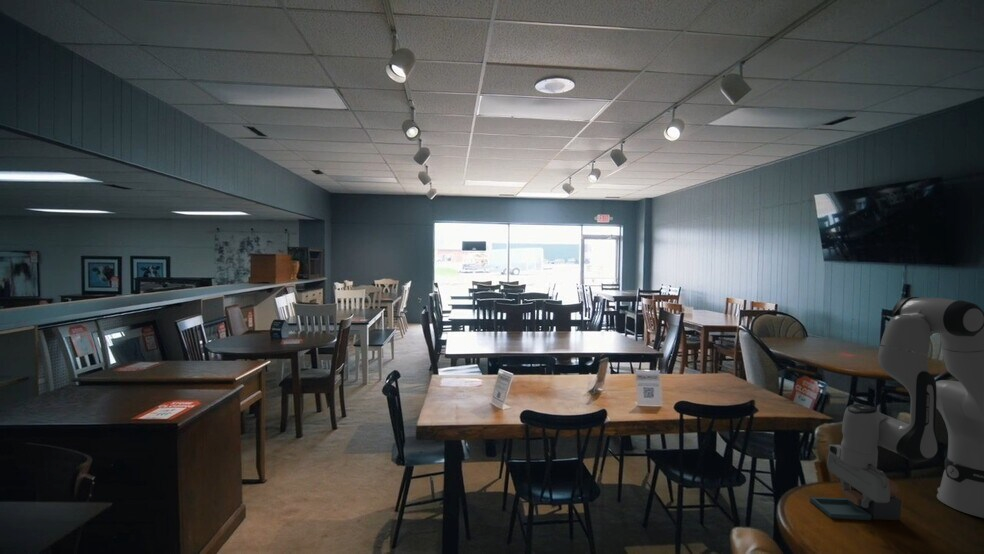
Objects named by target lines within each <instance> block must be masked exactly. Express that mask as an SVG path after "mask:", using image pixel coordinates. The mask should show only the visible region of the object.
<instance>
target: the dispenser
mask: <svg viewBox="0 0 984 554" xmlns="http://www.w3.org/2000/svg"><path fill="white" fill-rule="evenodd" d="M888 482H889V487H890V501H889V502H888V503H876V502H875V501H873V500H871V506H869V507H868V508H863V507H862V506H859V505H858V506H859V507H861V508H862V509H863V510H865V511H866V512H868V513H869V514H870V515H871V520H884V521H885V520H888V521H889V520H890V521H891V520H892V521H900V520H901V512H902V499H901V498H899V497H898V496H897V495H898V493H899V491H900V490H899V489H900V488H899V485H898V484H897V482H895V481H893V480H891V479H890V478H888ZM850 490H852V491H858V490H857V489H855V488H854V487H852V486H851V485H850ZM859 492H860V491H859Z"/></svg>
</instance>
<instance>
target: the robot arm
mask: <svg viewBox="0 0 984 554" xmlns="http://www.w3.org/2000/svg"><path fill="white" fill-rule="evenodd" d="M933 334H940V342H941V343H940V345H941V349H942V355H943V361H944V366H945V369H946V370H947V372H948V373H949V374H950V376H953V377H954V378H955V379H957V380H947V379H940V380H936V379H935V377H934V376H933V375H932V374H931V372H930V370H929V367H928V366H929V365H928V355H929V353H930V352H929V350H930V343H931V337H932V336H933ZM878 348H879V349H878V351H877V352H878V353H877V362H878V365H879V366H880V368H881V369H882V371H884V372H885V374H887V375H888V376H889V377H890V378H892V379H894V380H895V381H897V382H899V384H901V386H903V387H904V388H905V389H906V390H907V393H908V394H909V397H910V406H909V407H910V409H909V415H910V416H909V423H908V422H905V421H903V420H899V419H897V418H895V417H892V416H890V415H886V414H885V413H881V412H880V411H878V409H877V408H876V407H874V406H872V405H868V404H862V403H854V404H849V405H848V406H847V407H846V408H845V411H844V414H843V418H842V426H841V432H842V440H841V443H840V444H829V445H828V447H827V450H828V451H829V452H828V454H827V460H826V461H827V464H826V465H827V468H828V471H829V472H830V473H831V474H833V475H835V476H836V477H838V478H839V479H840V481H839V482H840V484H841V487H842V494H844V491H845V490H851V486H852V487H854V488H855V489H857V490H858V491H860V492H861V493H862V496H863V497H864V498H863V499H862V500H860V499H859V505H861V506H862V507H863V508H868V507H869V502H870V501H871V500H873V501H875V502H876V503H888V502H889V501H890V487H889V482H888V479H889V478H888V477H887V476H886V474H885V472H884V471H883V470H881V469H879V468H877V467H878V457H879V455H878V454H879V451H878V450H879V449H878V447H882V448H884V449H886V450H888V451H891V452H893V453H895V454H898V455H899V456H901V457H903V458H904V459H907V460H908V461H910V462H912V463H923V462H927V461H930V460H932V459H934V458H935V457H936V455H937V454H938V451H939V442H938V436H937V410H938V412H939V413H940V416H941V417H942V419H943V421H944V423H945V427H946V430H947V435H948V439H947V440H948V441H947V455H946V456H945V459H944V470H943V474H942V478H941V482H940V486H939V487H937V489H936V490H937V492H938V493H937V494H936V498H937V499H938V501H940V502H941V503H943V504H945V505H946V506H948V507H949V508H952V509H954V510H956V511H959V512H962V513H965V514H967V515H971V516H975V517H978V518H981V519H984V311H983V309H982V308H981V307H980V306H979V305H978V304H976V303H973V302H970V301H967V300H961V299H960V300H955V299H950V298H944V297H934V298H933V297H919V296H910V297H905V298H902V299H900V300H898V301H897V302H896V304H895V305H894V307H893V309H892V317H891V318H890V320H889V322H887V325H886V326H885V329H884V331H883V335H882V337H881V341H880V344H879V347H878Z"/></svg>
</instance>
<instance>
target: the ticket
mask: <svg viewBox="0 0 984 554" xmlns="http://www.w3.org/2000/svg"><path fill="white" fill-rule="evenodd" d="M843 494H844V495H843V497H844V498H847V499H848V500H850V501H851V502H853V503H854V504H855V505H859V499H860V500H862V499H863V498H864V497H863V496H862V493H861V492H859V491H852V490H851V489H850V490H845V491H844V493H843ZM859 506H861V505H859ZM869 506H871V501H870V502H869Z"/></svg>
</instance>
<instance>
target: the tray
mask: <svg viewBox="0 0 984 554" xmlns="http://www.w3.org/2000/svg"><path fill="white" fill-rule="evenodd" d="M809 502H810V503H811V504H812V505H813V506H814V507H815V508H817V509H818V510H819V511H821V512H822V513H823V514H825V515H826V516H827V517H828V518H829V519H830V520H833V519H834V520H858V521H860V520H861V521H872V518H871V515H870V514H869V513H868V512H866V511H865V510H863V509H862V508H861V507H859V506H858V505H855V504H854V503H853V502H851V501H850V500H848V499H847V498H846V497H844V498H843V497H841V498H840V497H817V496H815V497H813V496H812V497H811V496H810V497H809Z"/></svg>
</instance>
